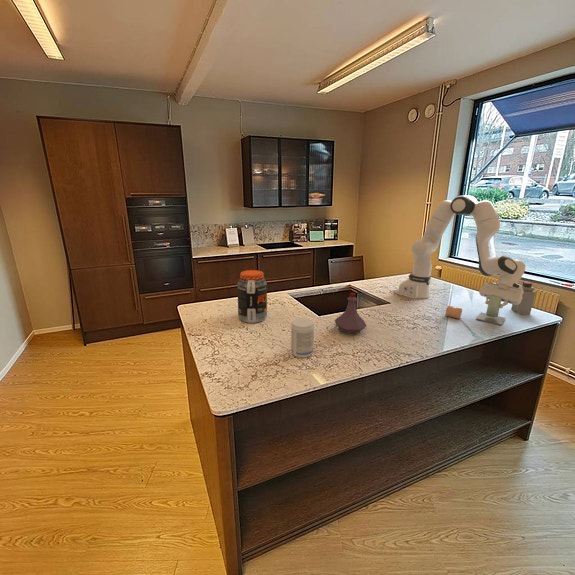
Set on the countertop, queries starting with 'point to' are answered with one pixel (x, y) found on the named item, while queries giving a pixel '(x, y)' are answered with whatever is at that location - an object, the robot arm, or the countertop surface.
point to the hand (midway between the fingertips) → (493, 305)
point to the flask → (350, 318)
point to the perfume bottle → (525, 299)
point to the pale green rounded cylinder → (493, 306)
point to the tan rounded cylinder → (453, 312)
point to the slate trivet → (490, 319)
